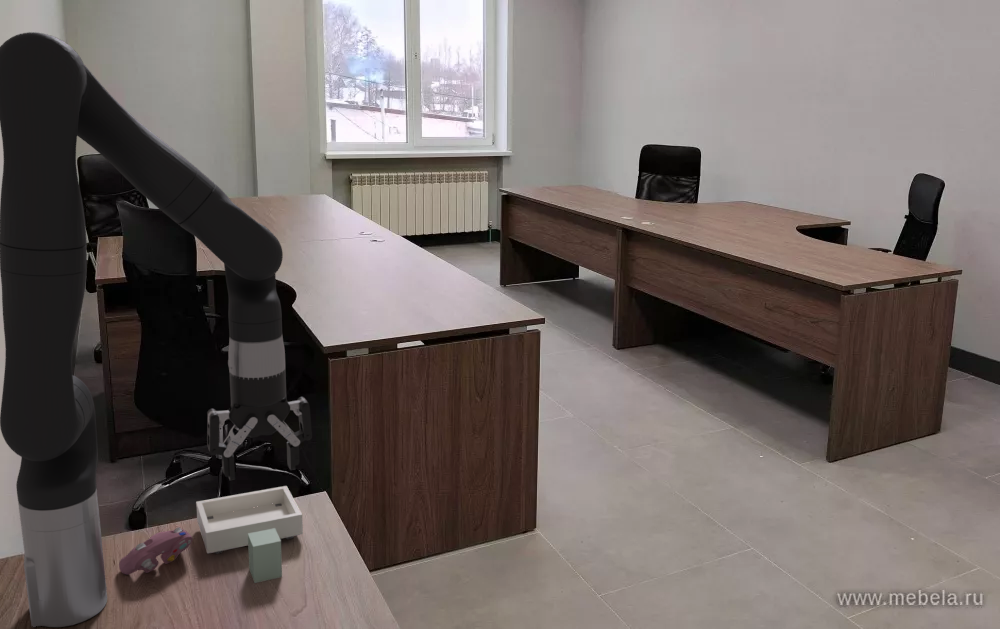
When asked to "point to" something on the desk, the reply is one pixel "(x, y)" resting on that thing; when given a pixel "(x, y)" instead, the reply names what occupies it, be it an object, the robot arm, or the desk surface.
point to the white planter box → (247, 517)
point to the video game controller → (156, 551)
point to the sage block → (264, 555)
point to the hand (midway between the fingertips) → (262, 472)
